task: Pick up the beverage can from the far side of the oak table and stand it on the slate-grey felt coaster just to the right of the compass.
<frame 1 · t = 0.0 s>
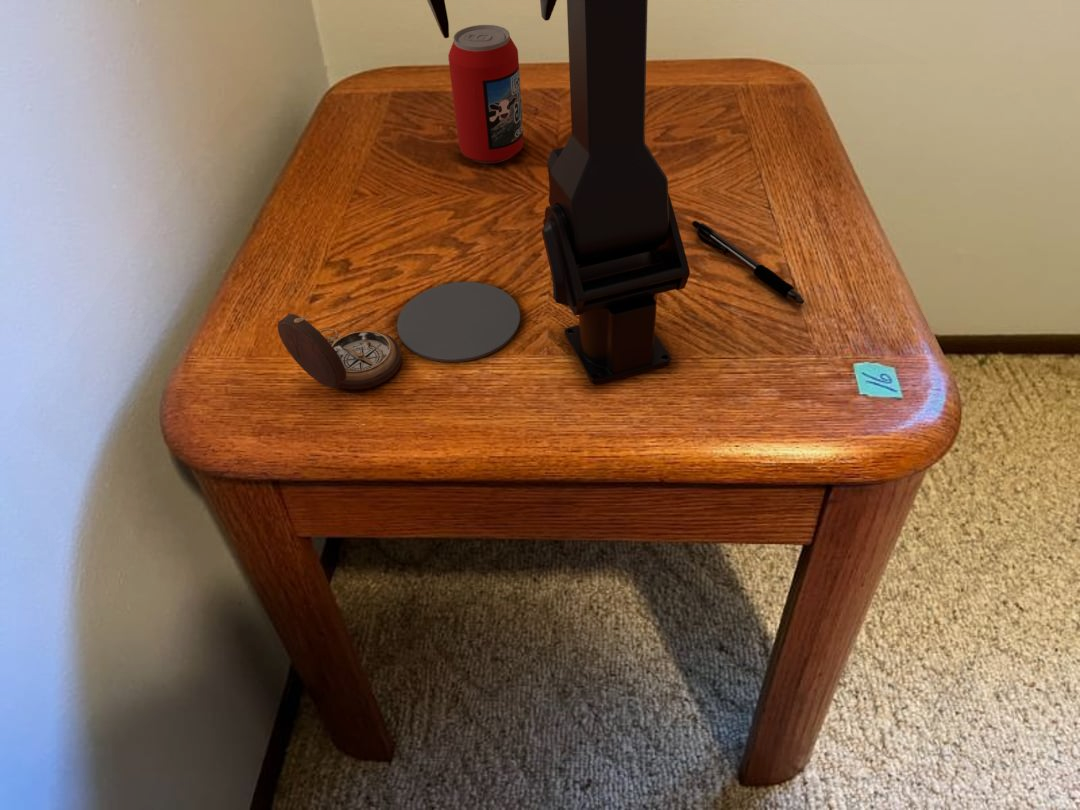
hand: (496, 27, 75), 15 cm above the table, tool pointing down, fingers open, 9 cm apart
compass: (347, 367, 66), on the table
beverage can: (492, 153, 89), on the table
pen: (741, 268, 73), on the table
felt coaster: (459, 321, 69), on the table
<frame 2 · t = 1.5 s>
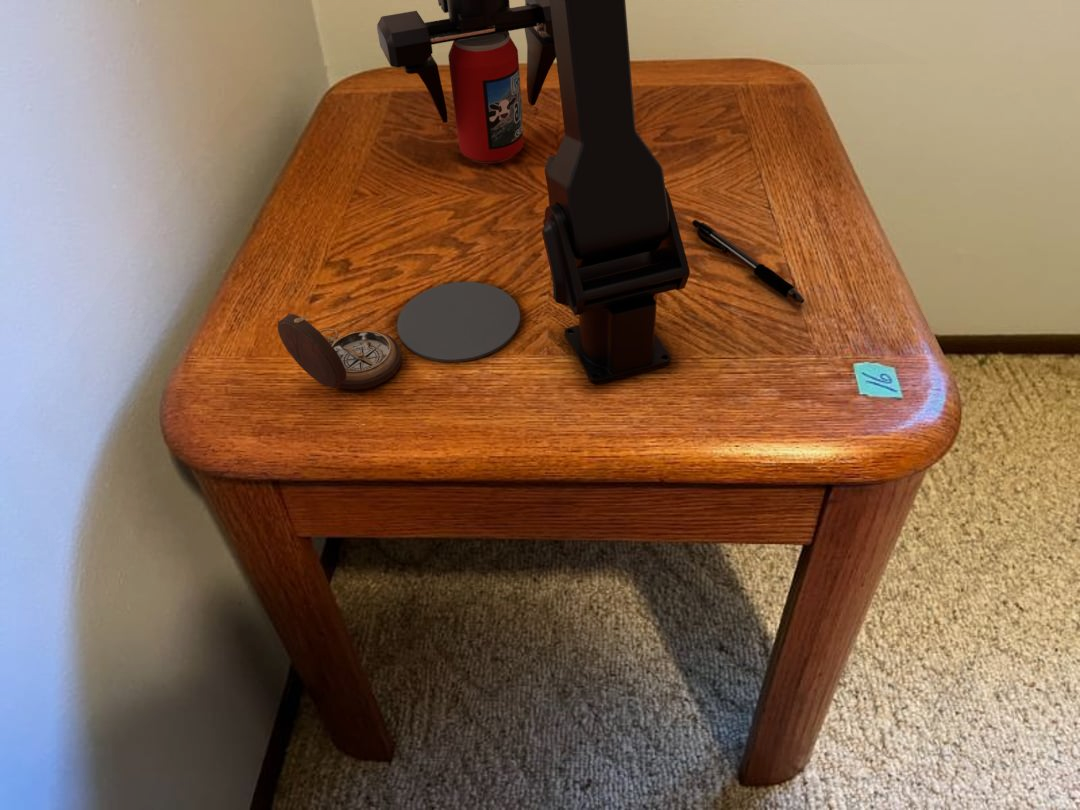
hand: (488, 112, 86), 4 cm above the table, tool pointing down
beverage can: (492, 153, 89), on the table, touching gripper
everything else where it was.
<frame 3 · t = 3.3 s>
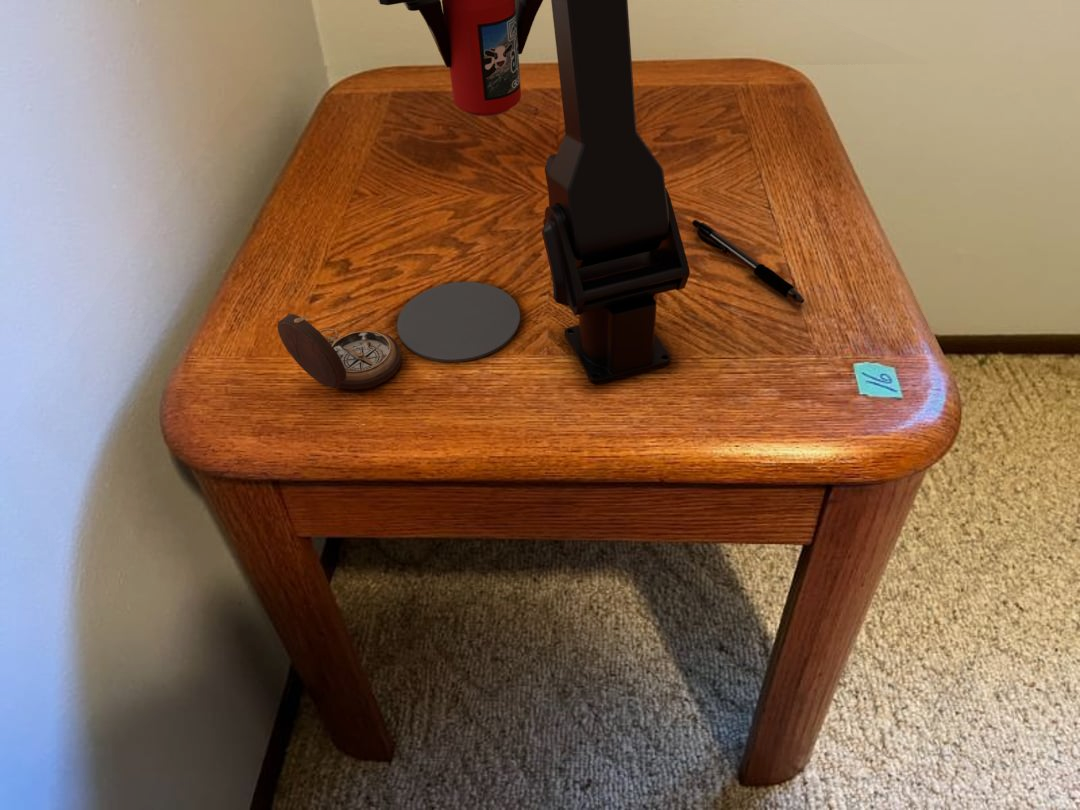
hand: (483, 59, 82), 10 cm above the table, tool pointing down, fingers closed on beverage can, 7 cm apart
beverage can: (488, 108, 85), point 5 cm above the table, touching gripper
everything else where it was.
when the fingers open (5 cm above the table, at t = 8.0 s): beverage can stays where it is, resting on felt coaster.
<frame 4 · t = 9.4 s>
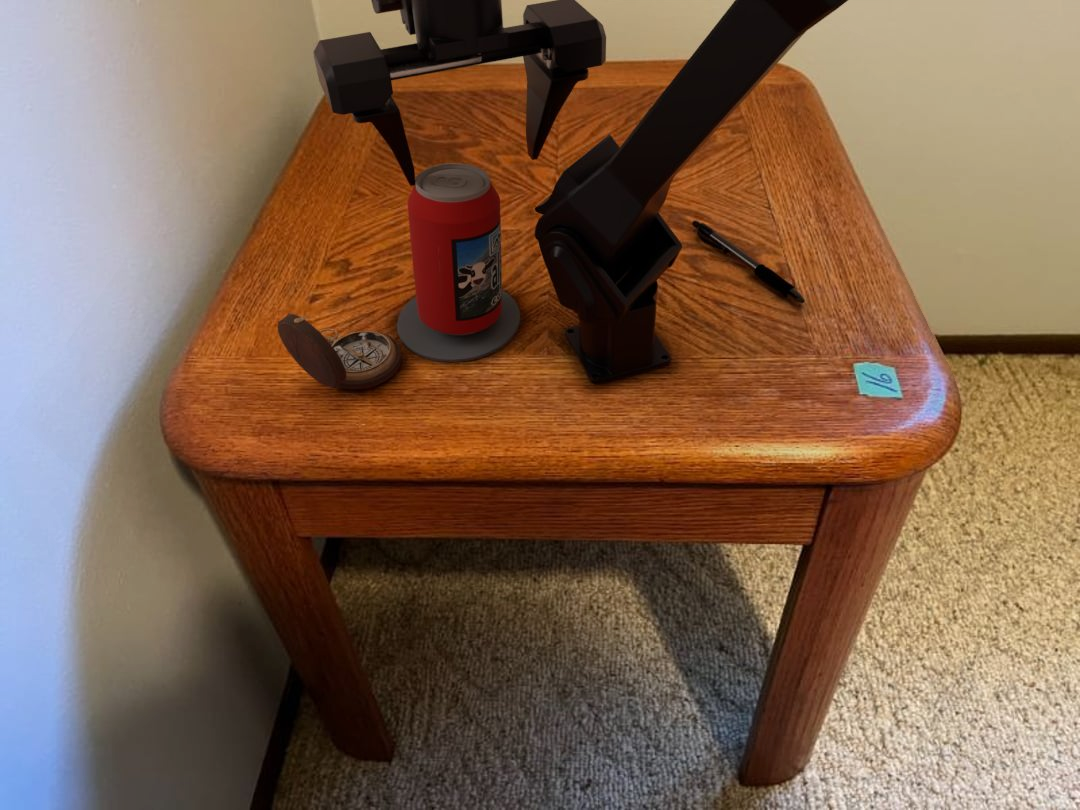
hand: (473, 169, 62), 12 cm above the table, tool pointing down, fingers open, 9 cm apart
beverage can: (460, 319, 69), resting on felt coaster, touching gripper
everything else where it was.
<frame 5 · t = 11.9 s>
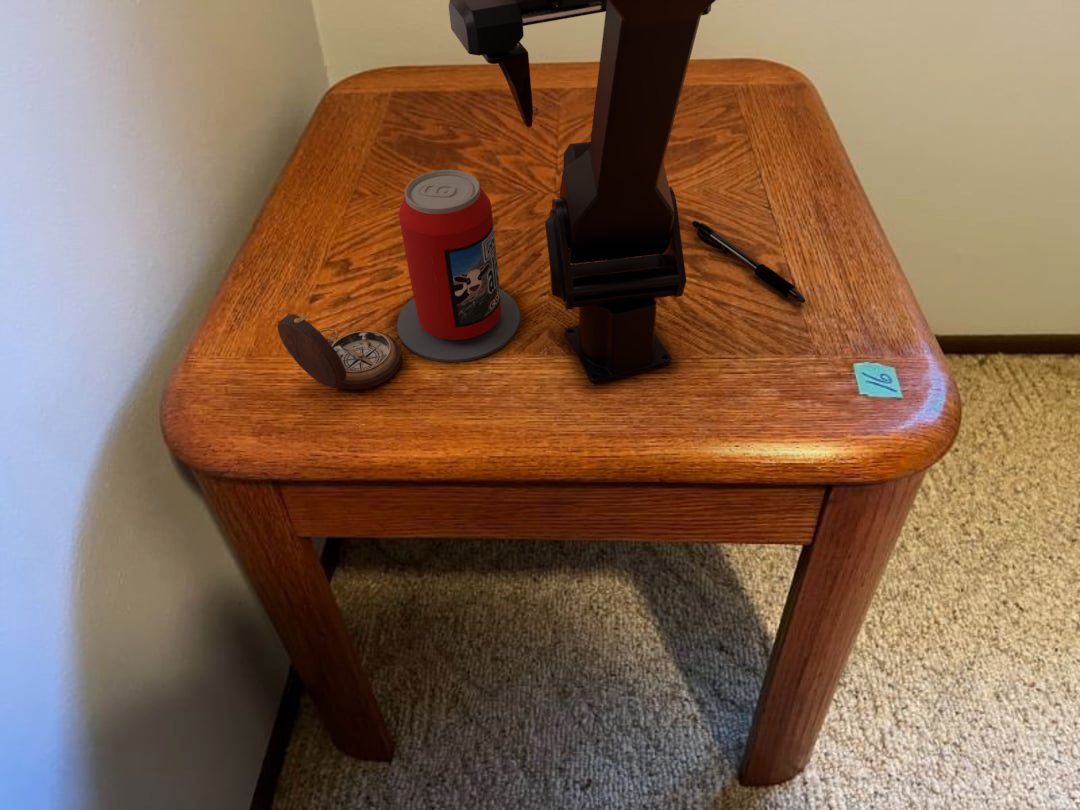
hand: (582, 114, 68), 12 cm above the table, tool pointing down, fingers open, 9 cm apart
beverage can: (461, 322, 69), resting on felt coaster
everything else where it was.
at the end: beverage can inside the target area on the table beside the compass (0.9 cm from its centre), resting on felt coaster; beverage can tilted 0°; compass moved 0.2 cm from its start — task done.
